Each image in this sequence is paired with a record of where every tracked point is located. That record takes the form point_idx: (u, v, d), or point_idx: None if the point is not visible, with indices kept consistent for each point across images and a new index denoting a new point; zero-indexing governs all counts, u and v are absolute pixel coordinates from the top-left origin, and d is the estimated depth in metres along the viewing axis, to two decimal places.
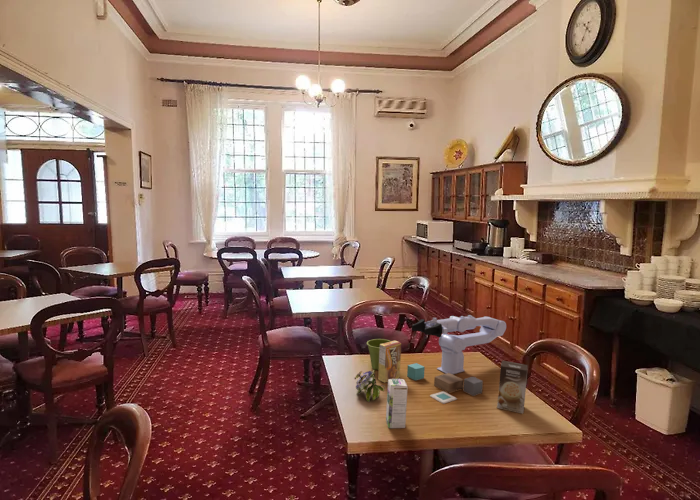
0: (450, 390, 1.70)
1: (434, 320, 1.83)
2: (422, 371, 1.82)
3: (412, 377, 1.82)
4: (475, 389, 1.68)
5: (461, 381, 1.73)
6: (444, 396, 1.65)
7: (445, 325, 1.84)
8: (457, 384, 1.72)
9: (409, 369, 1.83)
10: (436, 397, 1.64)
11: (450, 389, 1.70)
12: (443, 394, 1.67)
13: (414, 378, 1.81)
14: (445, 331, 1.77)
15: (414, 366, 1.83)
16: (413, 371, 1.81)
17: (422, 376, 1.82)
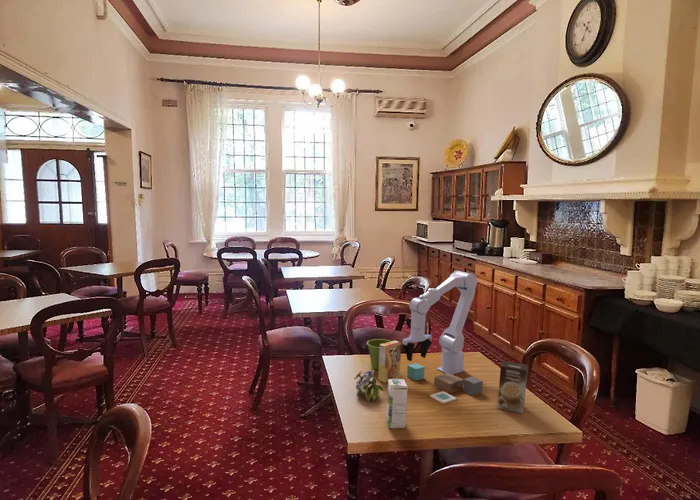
0: (450, 390, 1.70)
1: None
2: (422, 371, 1.82)
3: (412, 377, 1.82)
4: (475, 389, 1.68)
5: (461, 381, 1.73)
6: (444, 396, 1.65)
7: (411, 329, 1.81)
8: (457, 384, 1.72)
9: (409, 369, 1.83)
10: (436, 397, 1.64)
11: (450, 389, 1.70)
12: (443, 394, 1.67)
13: (414, 378, 1.81)
14: (404, 342, 1.78)
15: (414, 366, 1.83)
16: (413, 371, 1.81)
17: (422, 376, 1.82)
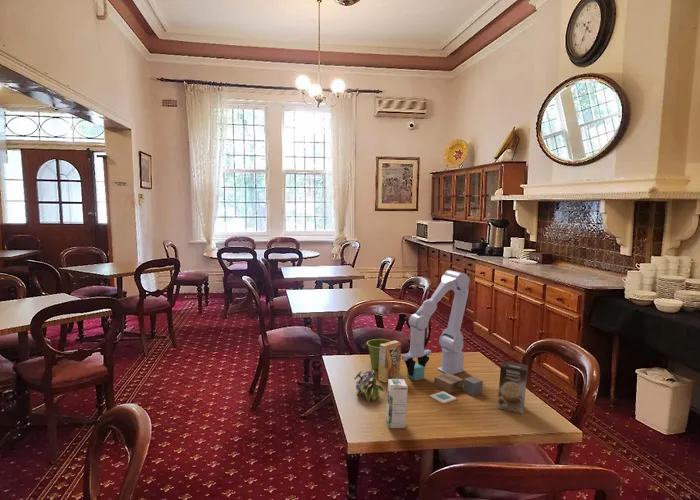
0: (451, 390, 1.70)
1: None
2: (422, 371, 1.82)
3: (412, 377, 1.82)
4: (475, 389, 1.68)
5: (461, 381, 1.73)
6: (444, 396, 1.65)
7: (410, 345, 1.81)
8: (458, 384, 1.72)
9: None
10: (436, 397, 1.64)
11: (451, 389, 1.70)
12: (443, 394, 1.67)
13: (414, 378, 1.81)
14: (403, 358, 1.79)
15: (414, 366, 1.83)
16: None
17: (422, 376, 1.82)
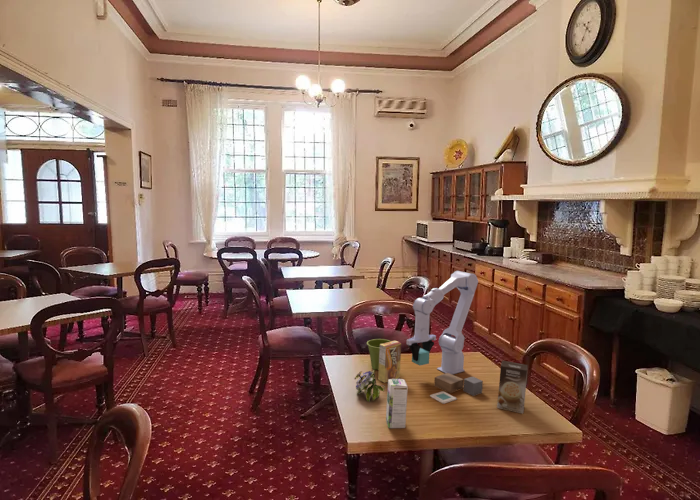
0: (451, 390, 1.70)
1: None
2: (427, 356, 1.80)
3: (417, 362, 1.80)
4: (475, 389, 1.68)
5: (461, 381, 1.73)
6: (444, 396, 1.65)
7: (415, 329, 1.80)
8: (458, 384, 1.72)
9: None
10: (436, 397, 1.64)
11: (451, 389, 1.70)
12: (443, 394, 1.67)
13: (419, 363, 1.79)
14: (408, 343, 1.77)
15: (419, 351, 1.81)
16: (418, 356, 1.79)
17: (427, 361, 1.80)
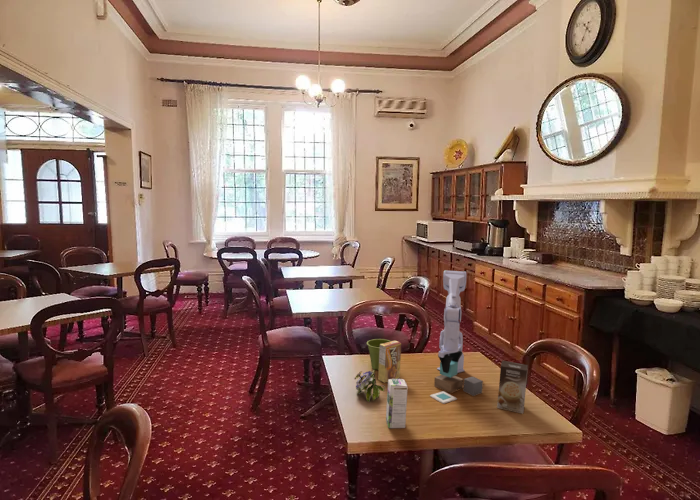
0: (452, 390, 1.70)
1: None
2: (456, 367, 1.73)
3: (447, 374, 1.72)
4: (475, 389, 1.68)
5: (461, 380, 1.73)
6: (444, 396, 1.65)
7: (445, 340, 1.71)
8: (458, 384, 1.72)
9: None
10: (436, 397, 1.64)
11: (452, 389, 1.70)
12: (443, 394, 1.67)
13: (449, 375, 1.71)
14: (440, 355, 1.68)
15: None
16: None
17: (456, 372, 1.74)
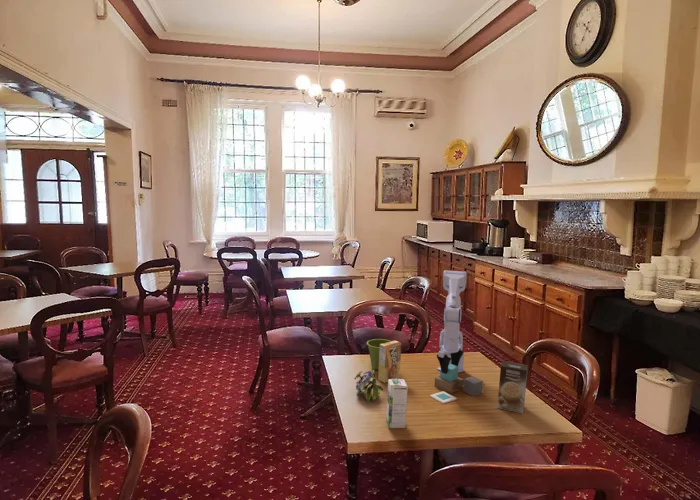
0: (452, 390, 1.70)
1: None
2: (456, 371, 1.73)
3: (447, 378, 1.72)
4: (475, 389, 1.68)
5: (461, 381, 1.73)
6: (444, 396, 1.65)
7: (445, 340, 1.71)
8: (458, 384, 1.72)
9: None
10: (436, 397, 1.64)
11: (452, 389, 1.70)
12: (443, 394, 1.67)
13: (450, 379, 1.71)
14: (440, 355, 1.68)
15: (448, 366, 1.73)
16: (448, 372, 1.72)
17: (456, 376, 1.74)
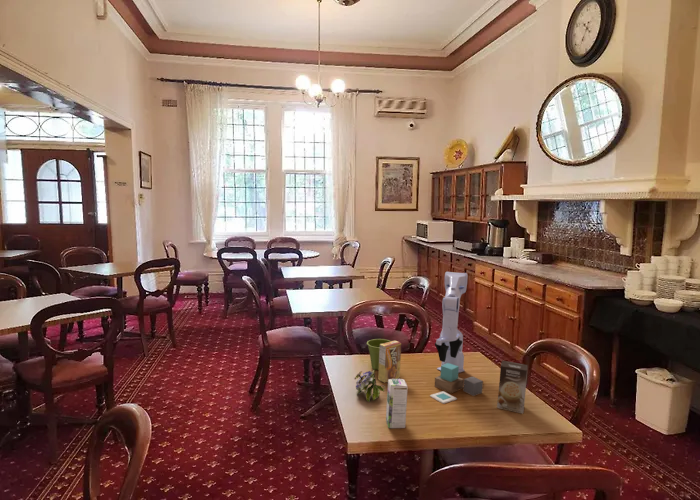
0: (452, 390, 1.70)
1: None
2: (457, 371, 1.73)
3: (447, 378, 1.72)
4: (475, 389, 1.68)
5: (461, 380, 1.73)
6: (444, 396, 1.65)
7: (443, 329, 1.74)
8: (458, 384, 1.72)
9: (444, 370, 1.73)
10: (436, 397, 1.64)
11: (452, 389, 1.69)
12: (443, 394, 1.67)
13: (450, 379, 1.71)
14: (438, 343, 1.71)
15: (448, 366, 1.73)
16: (449, 372, 1.71)
17: (456, 376, 1.74)
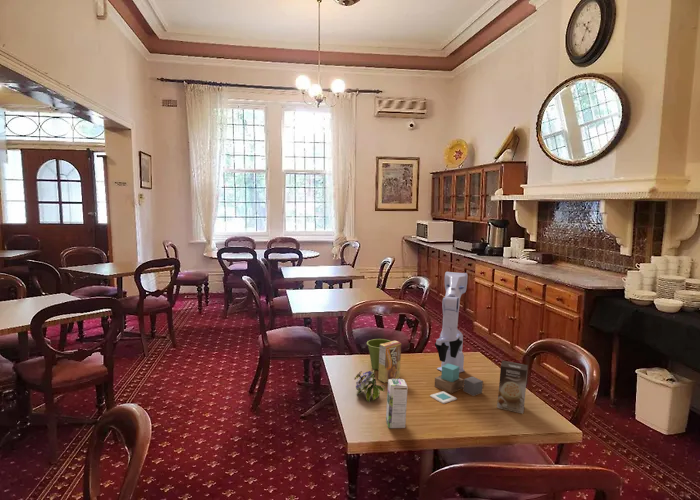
0: (452, 390, 1.70)
1: None
2: (457, 371, 1.73)
3: (448, 378, 1.72)
4: (475, 389, 1.68)
5: (461, 381, 1.73)
6: (444, 396, 1.65)
7: (443, 329, 1.74)
8: (458, 384, 1.72)
9: (445, 370, 1.73)
10: (436, 397, 1.64)
11: (452, 389, 1.70)
12: (443, 394, 1.67)
13: (451, 379, 1.71)
14: (438, 343, 1.71)
15: (449, 367, 1.73)
16: (450, 372, 1.71)
17: (457, 376, 1.74)
